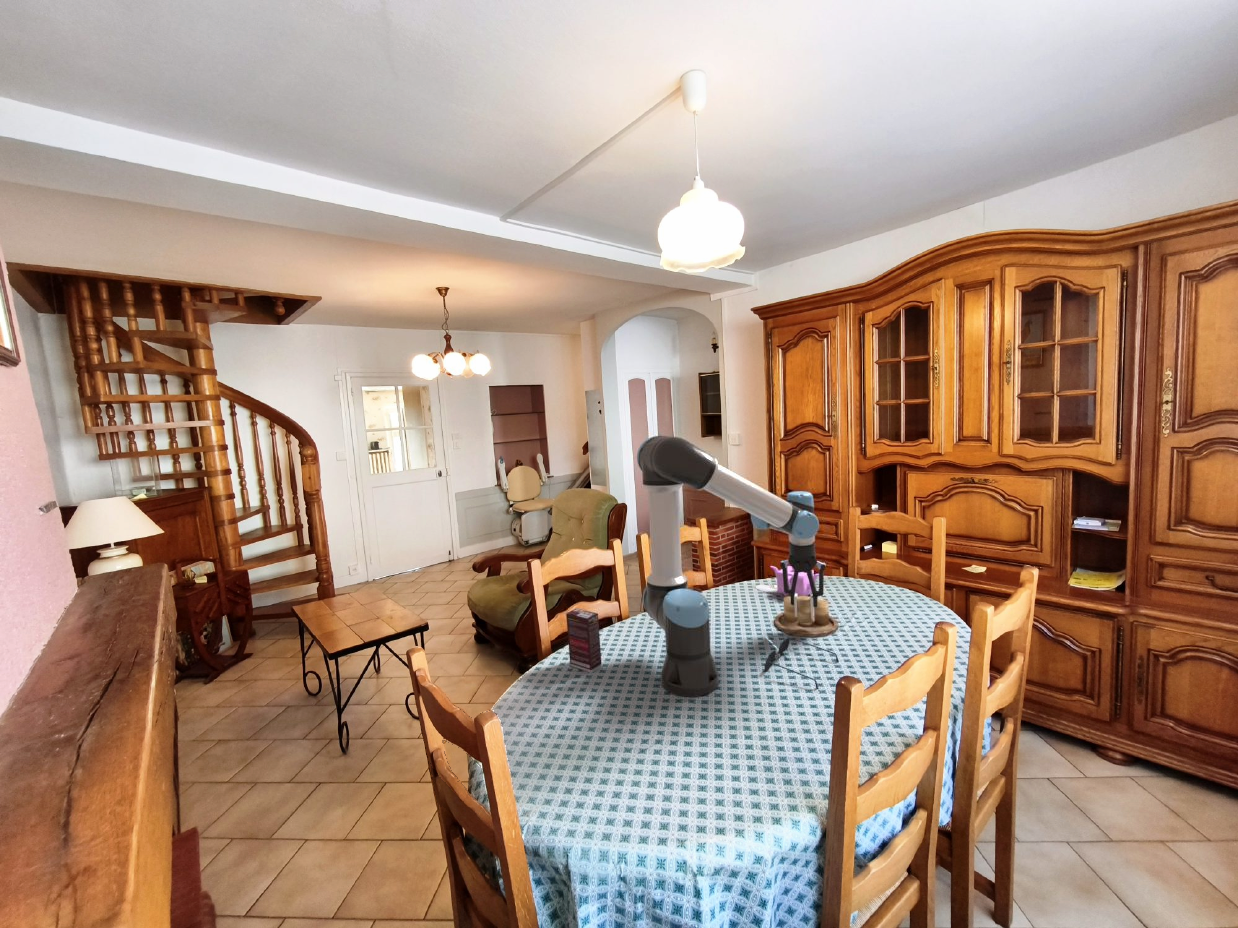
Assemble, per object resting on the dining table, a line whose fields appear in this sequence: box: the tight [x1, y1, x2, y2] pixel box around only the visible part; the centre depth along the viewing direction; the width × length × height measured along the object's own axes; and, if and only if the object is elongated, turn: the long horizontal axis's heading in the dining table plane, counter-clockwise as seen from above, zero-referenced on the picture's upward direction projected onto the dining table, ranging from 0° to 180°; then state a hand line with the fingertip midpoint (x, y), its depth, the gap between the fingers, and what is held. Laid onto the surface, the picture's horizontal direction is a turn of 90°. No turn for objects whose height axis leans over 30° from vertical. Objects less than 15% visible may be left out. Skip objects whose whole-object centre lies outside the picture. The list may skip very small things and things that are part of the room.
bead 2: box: [797, 595, 812, 623], centre depth 164 cm, size 4×4×7 cm
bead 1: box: [783, 596, 798, 622], centre depth 174 cm, size 4×4×7 cm
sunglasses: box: [764, 636, 839, 690], centre depth 144 cm, size 17×15×5 cm
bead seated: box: [814, 598, 830, 625], centre depth 170 cm, size 4×4×7 cm
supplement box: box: [565, 608, 603, 674], centre depth 152 cm, size 9×5×16 cm, turn 52°
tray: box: [774, 611, 839, 638], centre depth 170 cm, size 19×19×2 cm
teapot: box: [770, 565, 819, 598], centre depth 197 cm, size 15×13×11 cm
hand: (804, 615), depth 164 cm, fingers closed on bead 2, 4 cm apart
